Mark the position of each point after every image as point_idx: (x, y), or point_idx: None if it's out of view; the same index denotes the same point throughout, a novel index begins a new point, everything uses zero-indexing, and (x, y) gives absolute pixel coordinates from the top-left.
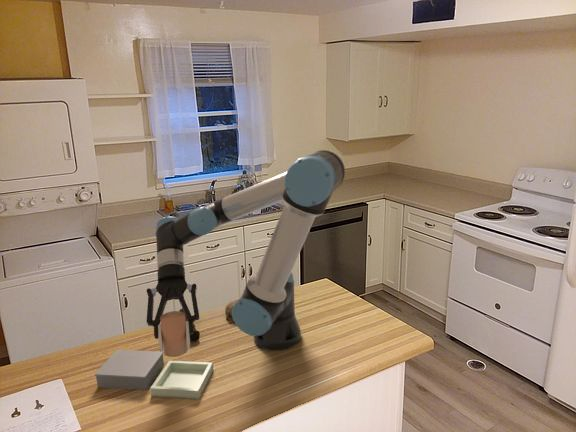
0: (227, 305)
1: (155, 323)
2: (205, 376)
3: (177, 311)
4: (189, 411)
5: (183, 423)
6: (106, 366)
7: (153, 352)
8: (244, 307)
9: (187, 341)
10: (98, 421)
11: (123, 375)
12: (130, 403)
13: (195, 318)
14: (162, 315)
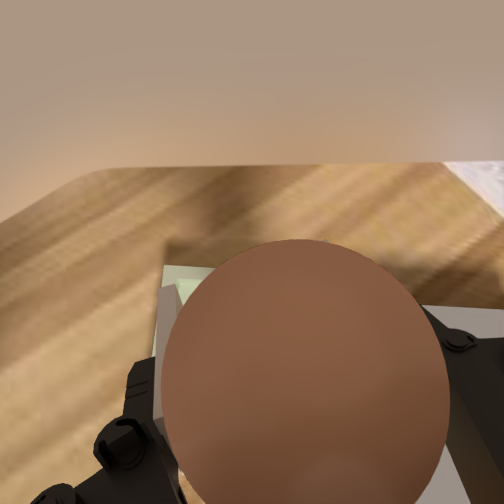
0: None
1: (453, 332)
2: (153, 349)
3: None
4: (186, 222)
5: (191, 179)
6: None
7: (423, 496)
8: None
9: (170, 297)
10: (412, 181)
11: (452, 308)
12: (368, 249)
13: (83, 485)
14: (442, 402)
